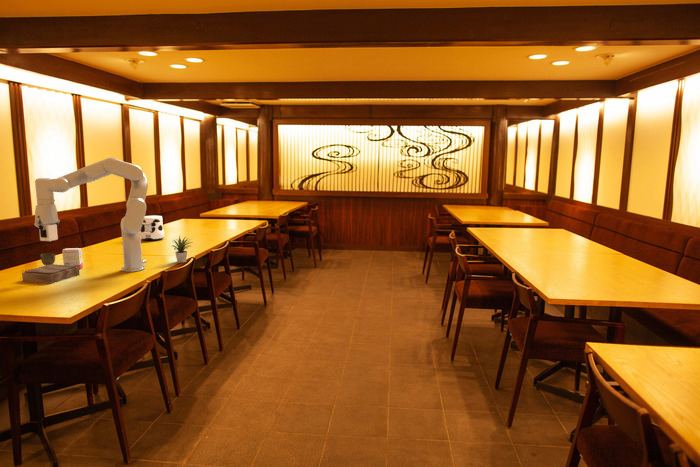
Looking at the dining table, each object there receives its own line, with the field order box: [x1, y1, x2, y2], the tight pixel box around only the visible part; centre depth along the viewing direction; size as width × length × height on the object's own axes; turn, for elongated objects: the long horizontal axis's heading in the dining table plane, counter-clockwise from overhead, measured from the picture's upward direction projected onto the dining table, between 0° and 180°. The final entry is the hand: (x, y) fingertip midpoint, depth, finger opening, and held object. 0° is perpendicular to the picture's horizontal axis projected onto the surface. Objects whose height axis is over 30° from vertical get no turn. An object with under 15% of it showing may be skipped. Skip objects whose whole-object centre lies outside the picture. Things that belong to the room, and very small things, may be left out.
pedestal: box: [21, 263, 80, 285], centre depth 242 cm, size 18×18×5 cm
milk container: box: [140, 215, 165, 241], centre depth 354 cm, size 17×17×18 cm
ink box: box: [61, 247, 84, 270], centre depth 262 cm, size 9×5×12 cm, turn 102°
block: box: [38, 224, 59, 242], centre depth 239 cm, size 6×6×8 cm
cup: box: [39, 252, 56, 266], centre depth 265 cm, size 8×7×8 cm
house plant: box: [171, 235, 194, 264], centre depth 281 cm, size 14×14×16 cm
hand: (48, 236), depth 239 cm, fingers closed on block, 5 cm apart
